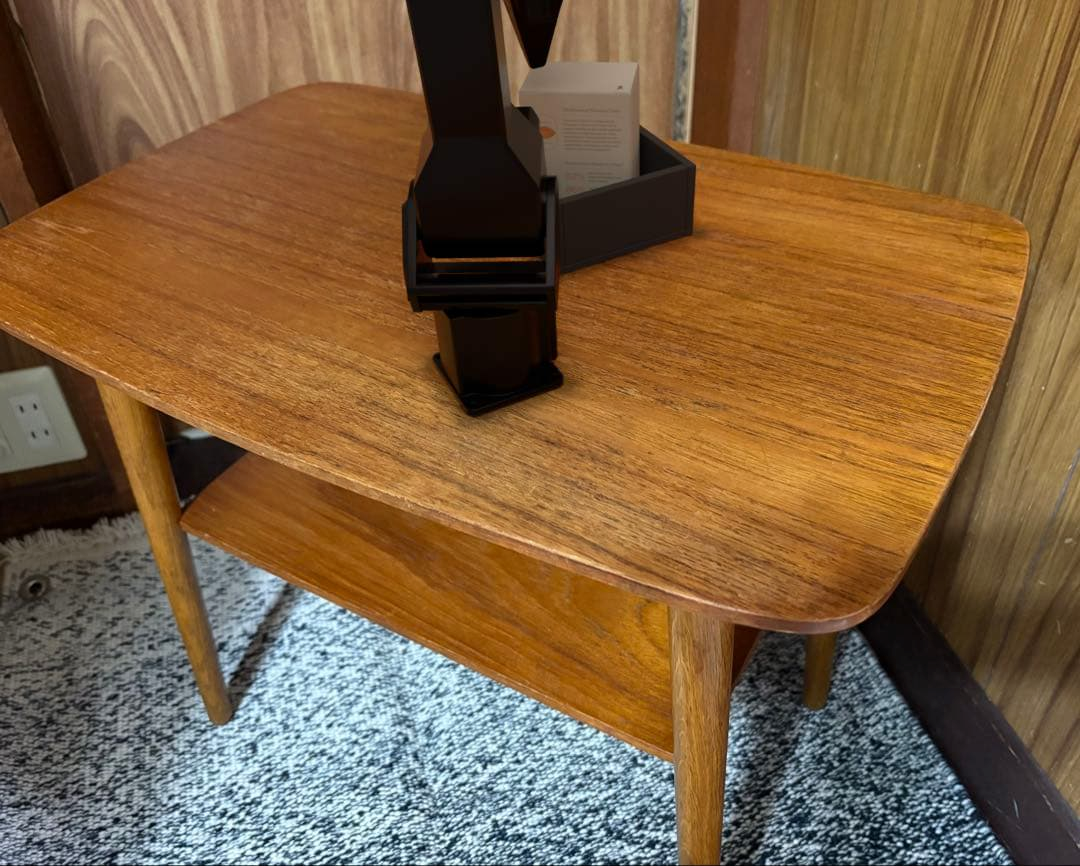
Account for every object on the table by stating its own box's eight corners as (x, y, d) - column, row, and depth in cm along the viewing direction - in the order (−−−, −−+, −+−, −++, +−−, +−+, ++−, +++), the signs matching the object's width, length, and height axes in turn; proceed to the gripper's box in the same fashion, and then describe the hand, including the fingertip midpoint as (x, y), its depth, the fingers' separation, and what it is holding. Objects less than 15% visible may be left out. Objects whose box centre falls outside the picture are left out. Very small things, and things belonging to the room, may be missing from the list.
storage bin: (556, 276, 70) (553, 205, 66) (482, 199, 79) (476, 133, 76) (693, 234, 73) (696, 164, 70) (606, 164, 83) (606, 100, 79)
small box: (640, 194, 77) (642, 60, 70) (631, 230, 73) (633, 92, 66) (540, 190, 79) (532, 58, 72) (526, 225, 75) (517, 89, 68)
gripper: (689, -218, 54) (678, 64, 65) (542, -250, 67) (553, -11, 78) (506, -190, 51) (525, 102, 61) (389, -230, 64) (421, 17, 74)
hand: (509, 46), depth 69 cm, fingers open, 9 cm apart
